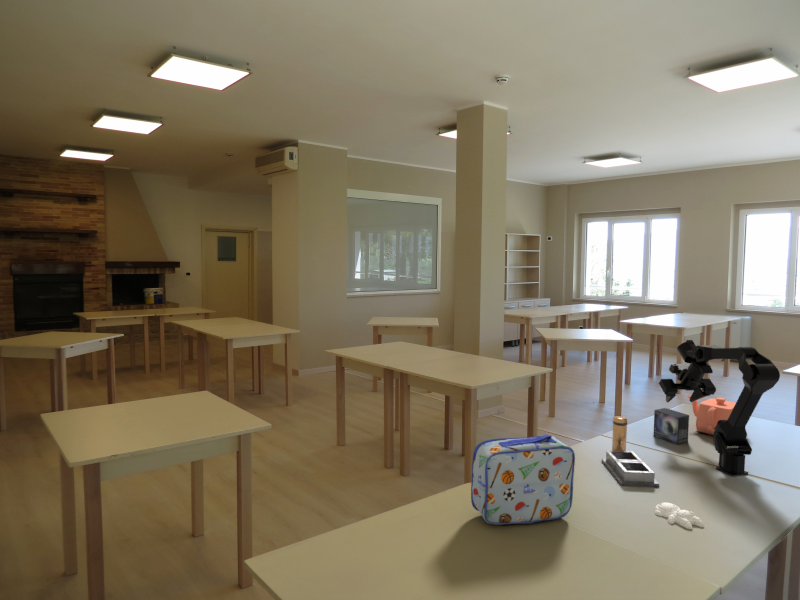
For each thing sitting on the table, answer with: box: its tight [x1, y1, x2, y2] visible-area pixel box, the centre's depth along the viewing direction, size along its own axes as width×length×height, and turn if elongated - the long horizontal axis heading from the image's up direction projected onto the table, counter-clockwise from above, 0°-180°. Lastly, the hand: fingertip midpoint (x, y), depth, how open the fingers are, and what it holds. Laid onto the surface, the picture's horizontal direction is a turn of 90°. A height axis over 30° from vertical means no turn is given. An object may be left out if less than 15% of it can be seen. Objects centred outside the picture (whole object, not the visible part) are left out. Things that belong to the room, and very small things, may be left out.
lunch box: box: [470, 434, 576, 525], centre depth 136 cm, size 28×10×22 cm, turn 105°
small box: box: [652, 407, 690, 445], centre depth 196 cm, size 11×6×10 cm, turn 25°
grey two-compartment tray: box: [601, 450, 660, 488], centre depth 165 cm, size 19×11×4 cm, turn 176°
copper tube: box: [611, 415, 628, 451], centre depth 180 cm, size 5×5×13 cm
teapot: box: [685, 394, 736, 436], centre depth 206 cm, size 20×19×14 cm
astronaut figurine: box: [654, 501, 705, 530], centre depth 137 cm, size 9×12×3 cm
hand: (678, 401), depth 195 cm, fingers open, 9 cm apart
